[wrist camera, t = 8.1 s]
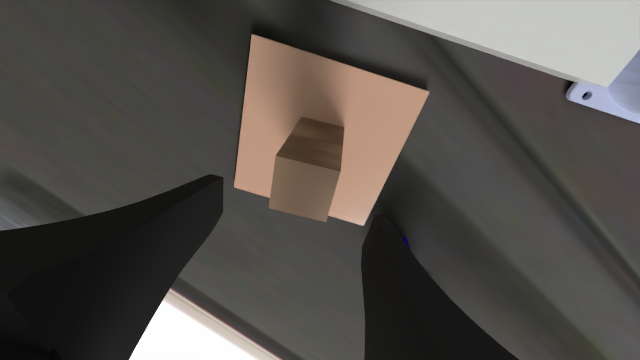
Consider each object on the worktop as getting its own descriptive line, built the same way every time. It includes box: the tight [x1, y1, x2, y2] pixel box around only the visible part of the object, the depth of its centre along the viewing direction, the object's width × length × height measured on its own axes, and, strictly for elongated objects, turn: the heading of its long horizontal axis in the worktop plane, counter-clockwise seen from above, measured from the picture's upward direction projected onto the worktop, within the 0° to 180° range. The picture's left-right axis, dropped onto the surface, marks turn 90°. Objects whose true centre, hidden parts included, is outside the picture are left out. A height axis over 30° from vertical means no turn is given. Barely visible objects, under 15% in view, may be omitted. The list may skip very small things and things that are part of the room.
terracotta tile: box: [234, 34, 429, 226], centre depth 19 cm, size 12×12×1 cm
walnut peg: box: [269, 117, 345, 222], centre depth 15 cm, size 3×3×7 cm
